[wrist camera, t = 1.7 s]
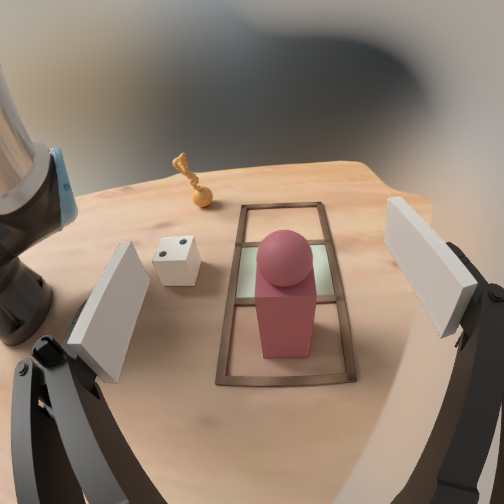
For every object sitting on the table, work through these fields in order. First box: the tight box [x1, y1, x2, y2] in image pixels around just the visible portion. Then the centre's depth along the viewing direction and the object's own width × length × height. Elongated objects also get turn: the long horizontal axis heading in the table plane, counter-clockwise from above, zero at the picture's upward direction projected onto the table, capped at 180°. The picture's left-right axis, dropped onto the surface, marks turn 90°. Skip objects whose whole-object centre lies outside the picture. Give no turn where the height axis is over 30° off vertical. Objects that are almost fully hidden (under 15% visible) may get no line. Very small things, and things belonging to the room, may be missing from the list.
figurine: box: [172, 153, 213, 207], centre depth 50 cm, size 8×6×12 cm
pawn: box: [254, 230, 317, 358], centre depth 26 cm, size 5×5×15 cm
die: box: [152, 236, 201, 286], centre depth 39 cm, size 5×5×5 cm
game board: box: [215, 202, 357, 386], centre depth 39 cm, size 15×34×1 cm, turn 177°
